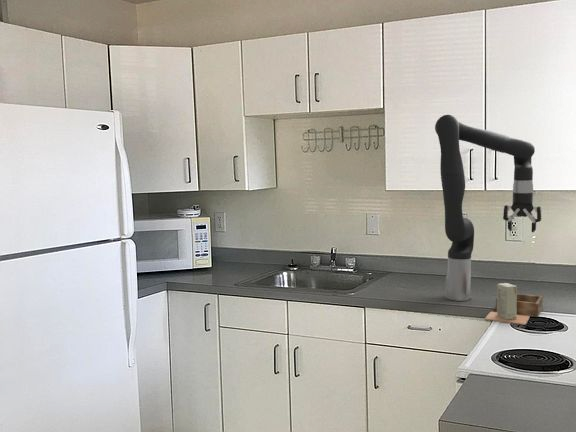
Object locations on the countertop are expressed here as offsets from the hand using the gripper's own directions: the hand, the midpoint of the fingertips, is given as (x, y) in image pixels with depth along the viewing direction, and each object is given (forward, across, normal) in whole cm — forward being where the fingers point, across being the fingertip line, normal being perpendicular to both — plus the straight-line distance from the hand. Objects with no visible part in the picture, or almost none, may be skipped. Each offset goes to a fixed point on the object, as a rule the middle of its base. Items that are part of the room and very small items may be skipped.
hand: (521, 231), depth 253 cm
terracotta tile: (+28, +1, -30) cm, 41 cm away
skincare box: (+28, +1, -30) cm, 41 cm away
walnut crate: (+28, +3, -17) cm, 33 cm away
